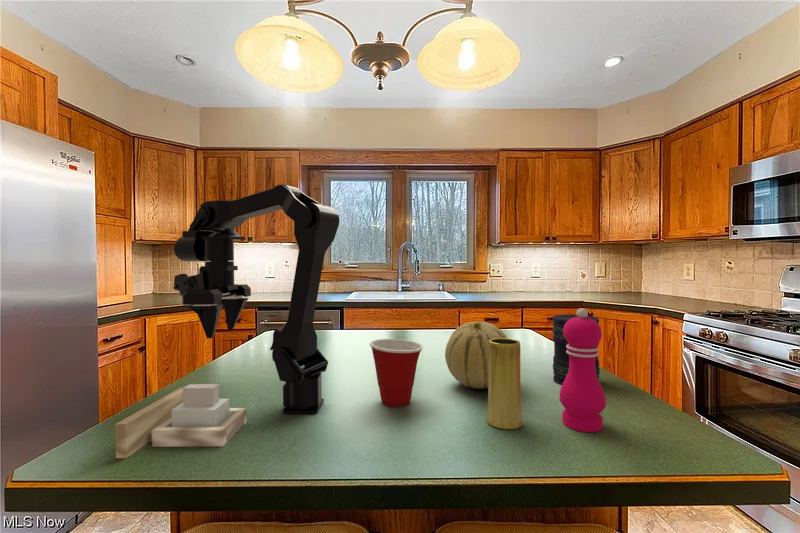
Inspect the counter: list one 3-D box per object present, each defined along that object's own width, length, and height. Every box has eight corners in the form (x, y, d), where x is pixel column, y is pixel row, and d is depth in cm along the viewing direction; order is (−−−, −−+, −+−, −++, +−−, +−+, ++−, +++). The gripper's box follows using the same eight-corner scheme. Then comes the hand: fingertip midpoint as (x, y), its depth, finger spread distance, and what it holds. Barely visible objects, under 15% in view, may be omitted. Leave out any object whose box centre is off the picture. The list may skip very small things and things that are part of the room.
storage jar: (606, 390, 83) (606, 321, 83) (558, 388, 85) (558, 320, 84) (591, 376, 93) (591, 314, 93) (548, 374, 94) (548, 314, 94)
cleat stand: (254, 414, 72) (254, 387, 72) (211, 458, 56) (210, 423, 56) (180, 414, 72) (179, 387, 72) (116, 458, 56) (115, 424, 56)
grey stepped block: (229, 427, 66) (229, 381, 66) (215, 440, 61) (214, 391, 61) (189, 427, 66) (188, 381, 66) (172, 441, 61) (171, 391, 61)
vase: (526, 419, 68) (526, 339, 68) (518, 433, 63) (517, 346, 63) (492, 412, 71) (492, 336, 71) (482, 425, 66) (481, 342, 66)
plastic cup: (427, 411, 72) (426, 348, 72) (369, 413, 72) (368, 349, 72) (421, 391, 83) (420, 336, 83) (371, 393, 83) (370, 337, 82)
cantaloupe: (497, 375, 94) (497, 314, 94) (524, 396, 80) (523, 324, 79) (438, 378, 93) (438, 316, 92) (454, 400, 78) (454, 326, 78)
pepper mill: (612, 435, 62) (612, 311, 61) (564, 432, 63) (564, 310, 63) (598, 417, 69) (598, 306, 68) (555, 414, 70) (555, 305, 70)
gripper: (204, 261, 92) (206, 326, 92) (153, 261, 73) (155, 343, 74) (251, 261, 92) (252, 326, 92) (211, 261, 73) (213, 343, 73)
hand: (220, 333), depth 83 cm, fingers open, 9 cm apart
